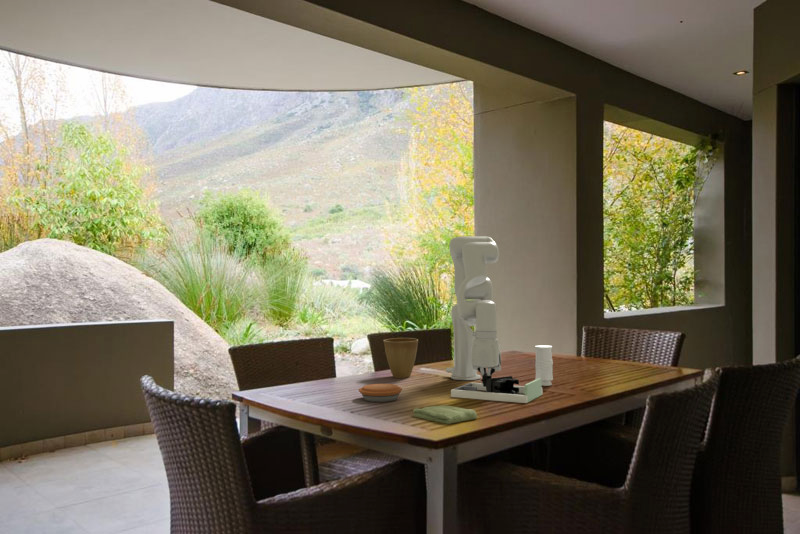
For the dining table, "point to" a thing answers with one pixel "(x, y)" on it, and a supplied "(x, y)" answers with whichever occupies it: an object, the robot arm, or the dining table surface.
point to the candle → (544, 364)
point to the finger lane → (470, 391)
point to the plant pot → (401, 355)
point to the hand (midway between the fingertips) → (487, 386)
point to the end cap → (502, 385)
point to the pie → (380, 392)
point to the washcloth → (445, 414)
